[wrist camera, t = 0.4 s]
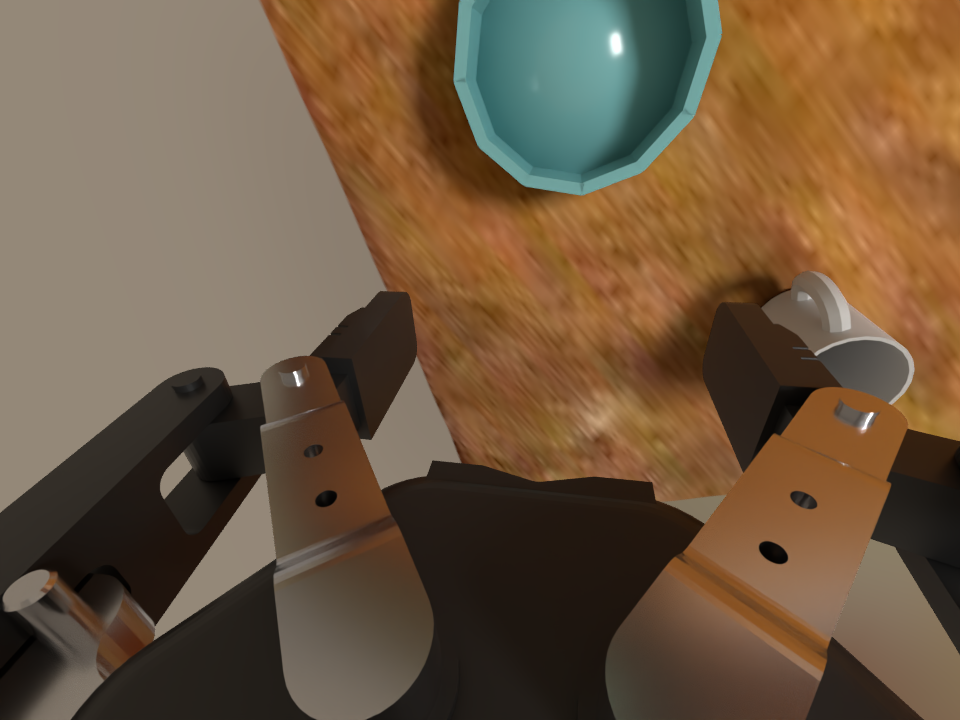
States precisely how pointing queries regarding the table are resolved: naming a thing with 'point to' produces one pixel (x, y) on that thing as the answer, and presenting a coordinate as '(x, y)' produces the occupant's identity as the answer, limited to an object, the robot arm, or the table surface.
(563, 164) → the bowl
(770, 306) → the cup
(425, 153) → the table surface
